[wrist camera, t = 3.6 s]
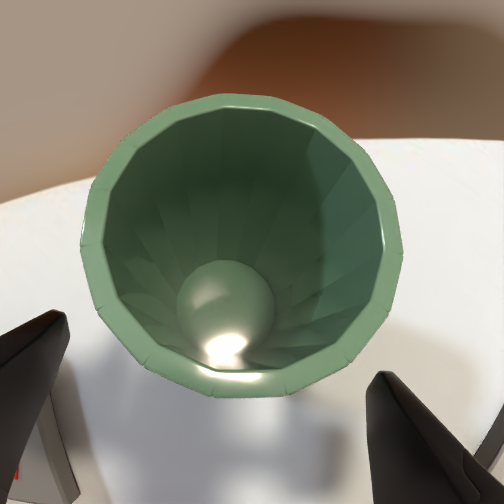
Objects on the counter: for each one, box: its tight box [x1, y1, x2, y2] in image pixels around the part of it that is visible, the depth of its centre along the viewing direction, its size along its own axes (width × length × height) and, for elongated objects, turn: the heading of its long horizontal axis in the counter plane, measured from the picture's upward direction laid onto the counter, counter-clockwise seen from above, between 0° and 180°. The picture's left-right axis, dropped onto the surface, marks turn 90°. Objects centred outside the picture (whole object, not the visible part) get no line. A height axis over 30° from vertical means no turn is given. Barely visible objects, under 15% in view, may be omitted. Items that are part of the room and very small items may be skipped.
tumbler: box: [80, 93, 403, 398], centre depth 12 cm, size 6×6×13 cm
